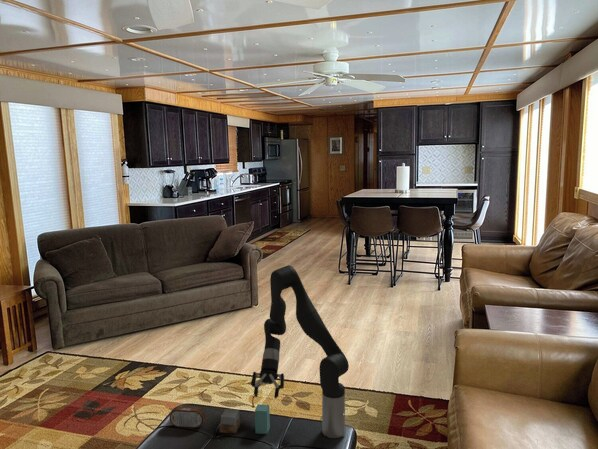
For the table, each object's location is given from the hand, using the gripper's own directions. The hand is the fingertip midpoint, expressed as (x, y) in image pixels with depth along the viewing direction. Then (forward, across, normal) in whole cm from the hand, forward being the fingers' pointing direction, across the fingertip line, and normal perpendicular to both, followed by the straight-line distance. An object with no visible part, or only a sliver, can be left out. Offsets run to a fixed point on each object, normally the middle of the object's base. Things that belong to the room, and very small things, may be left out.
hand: (265, 397), depth 197 cm
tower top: (+10, -14, 0) cm, 17 cm away
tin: (+14, -32, +2) cm, 35 cm away
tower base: (+13, -14, +3) cm, 19 cm away
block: (+13, 0, +3) cm, 13 cm away
